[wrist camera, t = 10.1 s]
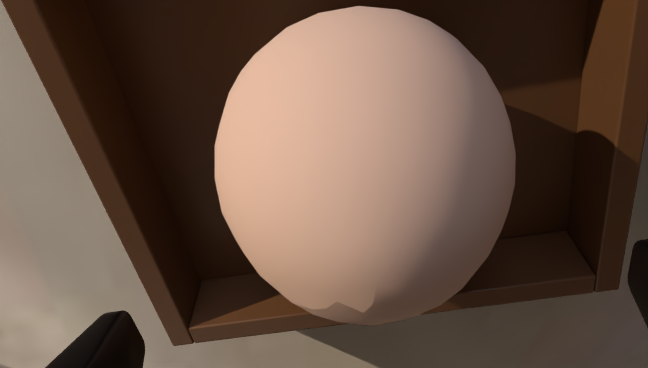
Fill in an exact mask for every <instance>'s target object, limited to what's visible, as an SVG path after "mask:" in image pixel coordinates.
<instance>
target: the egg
mask: <svg viewBox="0 0 648 368" xmlns="http://www.w3.org/2000/svg"><path fill="white" fill-rule="evenodd" d="M515 161H516V152H515V146H514V141H513V135H512V129H511V123H510V120H509V117H508V115H507V112H506V109H505V106H504V103H503V100H502V97H501V95H500V93H499V92H498V90H497V88H496V86H495V85H494V83H493V81H492V80H491V78H490V76H489V74H488V73H487V71H486V69H485V68H484V66H483V65H482V64H481V63H480V62H479V61H478V60H477V59H476V58H475V57H474V56H473V55H472V54H471V53H470V52H469V51H468V50H467V49H466V48H465V47H464V46H463V45H462V44H461V43H460V41H459V40H458V39H456V38H455V37H454V36H452V35H451V34H450V33H448V32H447V31H445V30H443V29H442V28H440V27H439V26H437V25H435V24H434V23H432V22H431V21H429V20H426V19H424V18H421V17H418V16H415V15H412V14H410V13H407V12H404V11H401V10H398V9H387V8H376V7H365V6H355V7H349V8H344V9H338V10H333V11H327V12H321V13H317V14H315V15H313V16H311V17H309V18H306V19H304V20H302V21H300V22H297V23H295V24H293V25H291V26H288V27H286V28H285V29H284V30H283V31H282V32H280V33H279V34H278V35H277V36H276V37H275V38H273V39H272V40H271V41H270V42H269V43H267V44H266V45H265V46H264V47H263V48H262V49H260V50H259V51H258V52H257V53H256V54H254V56H253V57H252V58H251V59H250V61H249V62H248V63H247V64H246V66H245V67H244V68H243V69H242V70H241V72H240V74H239V76H238V77H237V79H236V81H235V83H234V85H233V86H232V88H231V90H230V92H229V94H228V98H227V101H226V104H225V108H224V111H223V115H222V118H221V121H220V125H219V129H218V133H217V138H216V142H215V183H216V187H217V192H218V197H219V202H220V206H221V211H222V214H223V216H224V218H225V220H226V222H227V224H228V226H229V228H230V230H231V232H232V234H233V236H234V238H235V240H236V241H237V243H238V245H239V246H240V248H241V249H242V251H243V253H244V254H245V256H246V257H247V258H248V260H249V261H250V263H251V264H252V265H253V267H254V268H255V270H256V271H257V272H258V274H259V275H260V276H261V277H262V278H263V279H264V280H266V281H267V282H268V283H269V284H270V285H271V286H273V287H274V288H275V289H276V290H277V291H278V292H280V293H281V294H282V295H283V296H284V297H286V298H287V299H288V300H289V301H290V302H292V303H293V304H295V305H297V306H299V307H300V308H302V309H304V310H306V311H308V312H309V313H311V314H313V315H316V316H319V317H323V318H326V319H329V320H333V321H336V322H342V323H351V324H361V325H370V326H374V325H379V324H385V323H390V322H395V321H401V320H406V319H410V318H413V317H415V316H417V315H419V314H422V313H424V312H426V311H428V310H431V309H433V308H435V307H437V306H440V305H441V304H443V303H444V302H445V301H447V300H448V299H449V298H451V297H452V296H453V295H455V294H456V293H457V292H459V291H460V290H461V289H462V288H463V287H464V286H465V285H466V283H467V282H468V281H469V280H470V278H471V277H472V276H473V275H474V273H475V272H476V271H477V270H478V268H479V267H480V266H481V265H482V263H483V262H484V261H485V260H486V258H487V257H488V256H489V254H490V252H491V250H492V248H493V246H494V244H495V242H496V240H497V238H498V236H499V234H500V232H501V230H502V228H503V225H504V222H505V220H506V217H507V214H508V211H509V208H510V203H511V199H512V195H513V191H514V187H515Z"/></svg>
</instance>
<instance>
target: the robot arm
mask: <svg viewBox="0 0 648 368" xmlns="http://www.w3.org/2000/svg"><path fill="white" fill-rule="evenodd" d="M628 285H629V288H630V291H631V293H632V295H633V297H634V300H635V302H636V304H637V306H638V308H639V310H640V312H641V315H642V317H643V319H644V321H645V323H646V325H647V328H648V239H646V240H640V241H637V242H636V243H635V244H634V246H633V250H632V256H631V261H630V266H629V272H628ZM144 355H145V344H144V340H143V338H142V336H141V334H140V332H139V331H138V329H137V327H136V325H135V323H134V321H133V319H132V317H131V316H130V314H129V313H128V312H126V311H116V312H109V313H105V314H103V315H102V316H100V317H99V318H98V319H97V320H96V321H95V322H94V323H93V324H92V325H91V326H89V327H88V328H87V329H86V330H85V331H84V332H83V333H82V334H81V335H80V336H79V337H78V338H77V339H75V340H74V341H73V342H72V343H71V344H70V345H69V346H68V347H67V348H66V349H65V350H64V351H63V352H62V353H60V354H59V355H58V356H57V357H56V358H55V359H54V360H53V361H52V362H51V363H50V364H49V365H48V366H47V367H45V368H143V362H144Z"/></svg>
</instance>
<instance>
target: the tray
mask: <svg viewBox="0 0 648 368" xmlns="http://www.w3.org/2000/svg"><path fill="white" fill-rule="evenodd" d="M1 1H2V3H3V5H4V7H5V9H6V11H7V13H8V15H9V17H10V19H11V21H12V23H13V25H14V27H15V29H16V31H17V33H18V35H19V37H20V39H21V41H22V43H23V45H24V47H25V49H26V51H27V53H28V55H29V57H30V59H31V61H32V63H33V65H34V67H35V69H36V71H37V73H38V75H39V77H40V79H41V81H42V83H43V85H44V87H45V89H46V91H47V93H48V95H49V97H50V99H51V101H52V103H53V105H54V107H55V109H56V111H57V113H58V115H59V117H60V119H61V121H62V123H63V125H64V127H65V129H66V131H67V133H68V135H69V137H70V139H71V141H72V143H73V145H74V147H75V149H76V151H77V153H78V155H79V157H80V159H81V161H82V163H83V165H84V167H85V169H86V171H87V173H88V175H89V177H90V179H91V181H92V183H93V185H94V187H95V189H96V191H97V193H98V195H99V197H100V199H101V202H102V204H103V206H104V208H105V210H106V212H107V214H108V216H109V218H110V220H111V222H112V224H113V226H114V228H115V230H116V232H117V234H118V236H119V238H120V240H121V242H122V244H123V246H124V248H125V250H126V252H127V254H128V256H129V258H130V260H131V262H132V264H133V266H134V268H135V270H136V272H137V274H138V276H139V278H140V280H141V282H142V284H143V286H144V288H145V290H146V292H147V294H148V296H149V298H150V300H151V302H152V304H153V306H154V308H155V310H156V312H157V314H158V316H159V318H160V320H161V322H162V324H163V326H164V328H165V330H166V332H167V334H168V336H169V338H170V340H171V342H172V344H173V345H174V346H177V345H185V344H193V343H194V342H195V343H199V342H207V341H215V340H223V339H231V338H239V337H246V336H254V335H262V334H270V333H278V332H286V331H294V330H302V329H309V328H317V327H325V326H333V325H341V324H349V323H342V322H336V321H333V320H329V319H326V318H323V317H319V316H316V315H313V314H311V313H309V312H308V311H306V310H304V309H302V308H300V307H299V306H297V305H295V304H293V303H292V302H290V301H289V300H288V299H287V298H286V297H284V296H283V295H282V294H281V293H280V292H278V291H277V290H276V289H275V288H274V287H273V286H271V285H270V284H269V283H268V282H267V281H266V280H264V279H263V278H262V277H261V276H260V275H259V274H258V272H257V271H256V270H255V268H254V267H253V265H252V264H251V263H250V261H249V260H248V258H247V257H246V256H245V254H244V253H243V251H242V249H241V248H240V246H239V245H238V243H237V241H236V240H235V238H234V236H233V234H232V232H231V230H230V228H229V226H228V224H227V222H226V220H225V218H224V216H223V214H222V211H221V206H220V202H219V197H218V192H217V187H216V183H215V142H216V138H217V133H218V129H219V125H220V121H221V118H222V115H223V111H224V108H225V104H226V101H227V98H228V94H229V92H230V90H231V88H232V86H233V85H234V83H235V81H236V79H237V77H238V76H239V74H240V72H241V70H242V69H243V68H244V67H245V66H246V64H247V63H248V62H249V61H250V59H251V58H252V57H253V56H254V54H256V53H257V52H258V51H259V50H260V49H262V48H263V47H264V46H265V45H266V44H267V43H269V42H270V41H271V40H272V39H273V38H275V37H276V36H277V35H278V34H279V33H280V32H282V31H283V30H284V29H285V28H286V27H288V26H291V25H293V24H295V23H297V22H300V21H302V20H304V19H306V18H309V17H311V16H313V15H315V14H317V13H321V12H327V11H333V10H338V9H344V8H349V7H355V6H365V7H376V8H387V9H398V10H401V11H404V12H407V13H410V14H412V15H415V16H418V17H421V18H424V19H426V20H429V21H431V22H432V23H434V24H435V25H437V26H439V27H440V28H442V29H443V30H445V31H447V32H448V33H450V34H451V35H452V36H454V37H455V38H456V39H458V40H459V41H460V43H461V44H462V45H463V46H464V47H465V48H466V49H467V50H468V51H469V52H470V53H471V54H472V55H473V56H474V57H475V58H476V59H477V60H478V61H479V62H480V63H481V64H482V65H483V66H484V68H485V69H486V71H487V73H488V74H489V76H490V78H491V80H492V81H493V83H494V85H495V86H496V88H497V90H498V92H499V93H500V95H501V97H502V100H503V103H504V106H505V109H506V112H507V115H508V117H509V120H510V123H511V129H512V135H513V141H514V146H515V152H516V161H515V187H514V191H513V195H512V199H511V203H510V208H509V211H508V214H507V217H506V220H505V222H504V225H503V228H502V230H501V232H500V234H499V236H498V238H497V240H496V242H495V244H494V246H493V248H492V250H491V252H490V254H489V256H488V257H487V258H486V260H485V261H484V262H483V263H482V265H481V266H480V267H479V268H478V270H477V271H476V272H475V273H474V275H473V276H472V277H471V278H470V280H469V281H468V282H467V283H466V285H465V286H464V287H463V288H462V289H461V290H460V291H459V292H457V293H456V294H455V295H453V296H452V297H451V298H449V299H448V300H447V301H445V302H444V303H443V304H441V305H440V306H437V307H435V308H433V309H431V310H428V311H426V312H424V313H422V314H428V313H436V312H444V311H451V310H459V309H467V308H475V307H483V306H491V305H499V304H507V303H514V302H522V301H530V300H538V299H546V298H554V297H562V296H570V295H578V294H585V293H592V292H594V291H595V292H602V291H610V290H617V289H618V288H619V283H620V277H621V271H622V265H623V260H624V254H625V248H626V242H627V237H628V231H629V225H630V219H631V214H632V208H633V202H634V196H635V191H636V185H637V179H638V173H639V168H640V162H641V156H642V150H643V145H644V139H645V133H646V127H647V122H648V0H1ZM419 315H420V314H419Z"/></svg>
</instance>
